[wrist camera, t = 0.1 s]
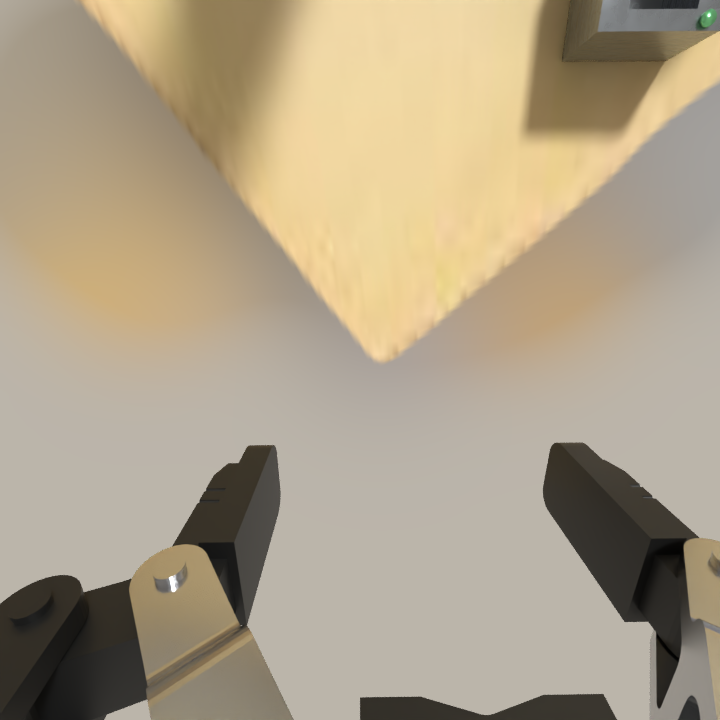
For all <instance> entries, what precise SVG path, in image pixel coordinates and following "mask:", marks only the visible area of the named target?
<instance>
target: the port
mask: <svg viewBox="0 0 720 720" xmlns="http://www.w3.org/2000/svg"><path fill="white" fill-rule="evenodd" d="M718 31H720V0H571V1H570V8H569V15H568V22H567V29H566V37H565V44H564V51H563V58H562V61H666V60H668V59H670V58H672V57H673V56H675V55H677V54H679V53H681V52H682V51H684V50H686V49H688V48H690V47H691V46H693V45H695V44H697V43H699V42H700V41H702V40H704V39H706V38H707V37H709V36H711V35H713V34H715V33H716V32H718Z"/></svg>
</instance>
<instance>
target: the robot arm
mask: <svg viewBox="0 0 720 720" xmlns="http://www.w3.org/2000/svg"><path fill="white" fill-rule="evenodd" d="M543 497H544V501H545V505H546V507H547V509H548V511H549V512H550V514H551V515H552V517H553V518H554V520H555V521H556V522H557V524H558V525H559V527H560V528H561V530H562V531H563V533H564V534H565V536H566V537H567V538H568V540H569V541H570V543H571V544H572V546H573V547H574V549H575V550H576V552H577V553H578V554H579V556H580V558H581V559H582V560H583V562H584V563H585V565H586V566H587V568H588V569H589V571H590V572H591V574H592V575H593V576H594V578H595V579H596V581H597V582H598V584H599V585H600V587H601V588H602V589H603V591H604V592H605V594H606V595H607V597H608V598H609V600H610V601H611V602H612V604H613V605H614V607H615V608H616V610H617V611H618V613H619V614H620V616H621V617H622V619H623V620H624V622H649V623H650V624H651V626H652V627H653V629H654V631H653V633H652V636H651V640H650V720H720V542H719V541H716V540H712V539H705V538H699V537H698V536H697V535H696V534H695V533H693V532H692V531H691V530H690V529H689V528H688V527H687V526H686V525H684V524H683V523H682V522H681V521H680V520H679V519H678V518H677V517H675V516H674V515H673V514H672V513H671V512H670V511H669V510H668V509H667V508H665V507H664V506H663V505H662V504H661V503H660V502H659V501H658V500H656V499H653V498H652V495H651V494H650V493H649V492H647V491H646V490H645V489H644V488H643V487H640V485H639V483H637V482H636V481H635V480H634V479H633V478H632V477H631V476H630V475H628V474H627V473H626V472H625V471H623V470H622V469H620V468H618V467H616V466H615V465H613V464H611V463H609V462H607V461H605V460H602V459H601V458H600V457H599V456H598V455H597V454H596V453H595V452H594V451H593V450H591V449H590V448H589V447H588V446H587V445H586V444H584V443H554V444H553V445H552V447H551V449H550V453H549V459H548V464H547V469H546V475H545V480H544V486H543ZM279 506H280V482H279V472H278V461H277V451H276V447H275V446H274V445H267V446H266V445H255V446H248V447H247V448H246V450H245V452H244V454H243V456H242V458H241V460H240V462H239V463H233V464H232V463H229V464H227V465H226V466H225V467H223V468H222V469H221V470H220V471H219V472H217V473H216V474H215V475H214V476H213V478H212V480H211V481H210V483H209V485H208V487H207V488H206V491H205V492H204V494H203V495H202V497H201V499H200V502H199V503H198V504H197V505H196V507H195V509H194V510H193V512H192V514H191V516H190V517H189V519H188V521H187V522H186V524H185V526H184V527H183V529H182V531H181V533H180V534H179V536H178V537H177V539H176V541H175V543H174V544H173V546H172V547H170V548H167V549H164V550H162V551H160V552H159V553H156V554H155V555H153V556H152V557H150V558H149V559H148V560H147V561H145V562H144V563H143V564H142V565H141V566H140V567H139V568H138V570H137V571H136V572H135V574H134V576H133V577H132V579H129V580H126V581H123V582H120V583H116V584H112V585H109V586H106V587H102V588H98V589H95V590H91V591H87V592H83V589H82V587H81V584H80V582H79V580H77V579H76V578H75V577H72V576H68V575H58V576H52V577H48V578H45V579H42V580H39V581H37V582H34V583H32V584H30V585H28V586H26V587H24V588H22V589H20V590H19V591H17V592H16V593H14V594H12V595H11V596H10V597H8V598H7V599H6V600H5V601H3V602H2V603H1V604H0V720H104V719H105V717H106V715H107V714H109V713H112V712H114V711H117V710H120V709H122V708H125V707H128V706H130V705H133V704H135V703H138V702H141V701H143V700H146V699H147V700H148V706H149V711H150V717H151V720H293V718H292V715H291V713H290V711H289V709H288V707H287V705H286V703H285V701H284V699H283V697H282V695H281V693H280V691H279V689H278V686H277V684H276V682H275V680H274V678H273V676H272V674H271V672H270V670H269V668H268V666H267V664H266V662H265V660H264V657H263V656H262V653H261V651H260V649H259V647H258V645H257V643H256V641H255V639H254V637H253V635H252V633H251V631H250V630H249V628H248V627H247V623H248V619H249V616H250V612H251V609H252V605H253V601H254V598H255V594H256V591H257V587H258V584H259V580H260V577H261V573H262V570H263V566H264V562H265V558H266V555H267V552H268V548H269V544H270V541H271V537H272V534H273V530H274V526H275V523H276V519H277V516H278V512H279ZM240 625H243V626H240ZM360 720H617V719H616V717H615V715H614V714H613V712H612V710H611V708H610V706H609V704H608V702H607V700H606V698H605V697H604V695H603V694H582V695H581V694H580V695H579V694H577V695H542V696H540V697H537V698H534V699H532V700H529V701H527V702H524V703H521V704H519V705H516V706H513V707H511V708H508V709H506V710H503V711H500V712H498V713H495V714H492V715H481V714H477V713H474V712H471V711H467V710H464V709H460V708H457V707H453V706H450V705H446V704H443V703H440V702H436V701H433V700H429V699H426V698H423V697H370V698H369V697H366V698H360Z"/></svg>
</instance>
